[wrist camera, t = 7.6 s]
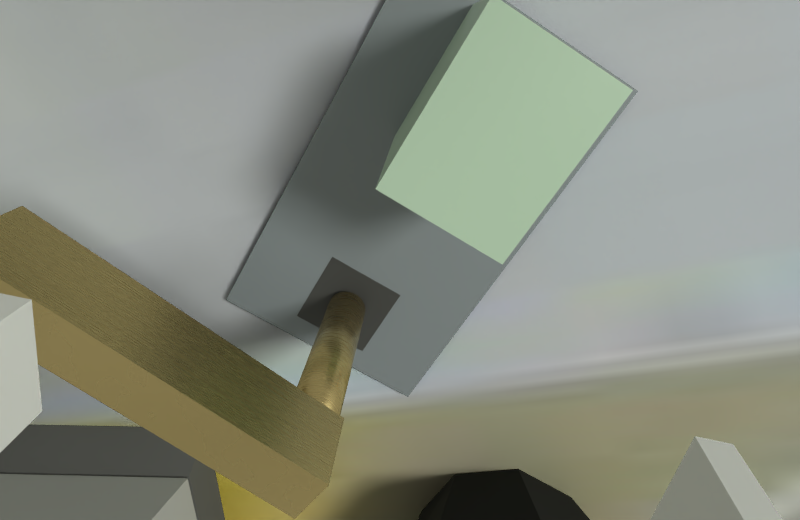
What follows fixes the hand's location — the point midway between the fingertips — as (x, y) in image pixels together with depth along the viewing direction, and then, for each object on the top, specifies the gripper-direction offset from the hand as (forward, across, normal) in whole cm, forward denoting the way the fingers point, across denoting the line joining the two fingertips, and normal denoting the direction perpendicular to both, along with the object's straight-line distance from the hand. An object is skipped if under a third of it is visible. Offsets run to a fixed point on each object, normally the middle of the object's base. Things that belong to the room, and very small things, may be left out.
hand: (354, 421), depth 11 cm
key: (+22, -8, -7) cm, 25 cm away
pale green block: (+23, +3, +4) cm, 24 cm away
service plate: (+24, 0, -3) cm, 24 cm away
